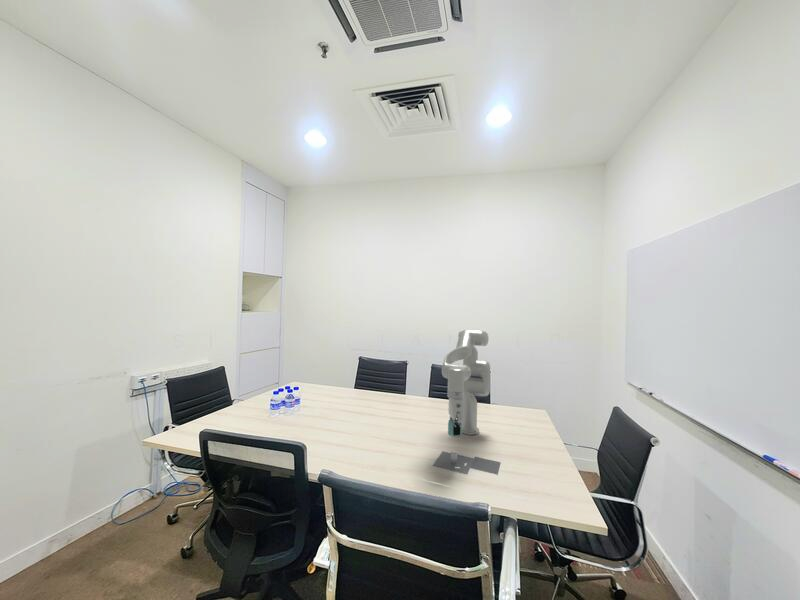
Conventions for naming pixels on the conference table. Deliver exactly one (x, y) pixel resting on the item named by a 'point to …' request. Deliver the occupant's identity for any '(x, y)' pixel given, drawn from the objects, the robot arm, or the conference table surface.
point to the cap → (450, 428)
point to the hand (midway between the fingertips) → (454, 431)
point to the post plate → (450, 466)
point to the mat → (486, 465)
